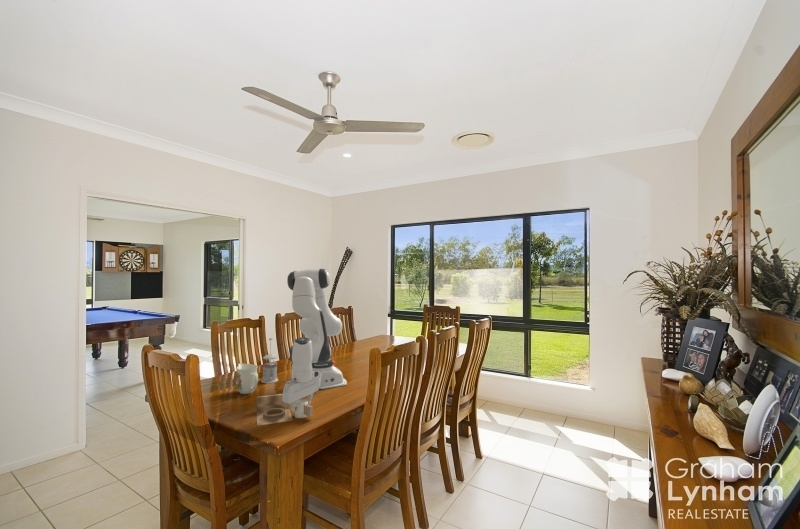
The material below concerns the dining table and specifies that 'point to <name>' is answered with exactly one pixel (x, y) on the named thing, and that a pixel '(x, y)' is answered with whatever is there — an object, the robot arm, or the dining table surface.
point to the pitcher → (246, 378)
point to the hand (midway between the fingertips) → (301, 407)
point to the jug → (303, 409)
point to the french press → (270, 368)
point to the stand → (272, 410)
